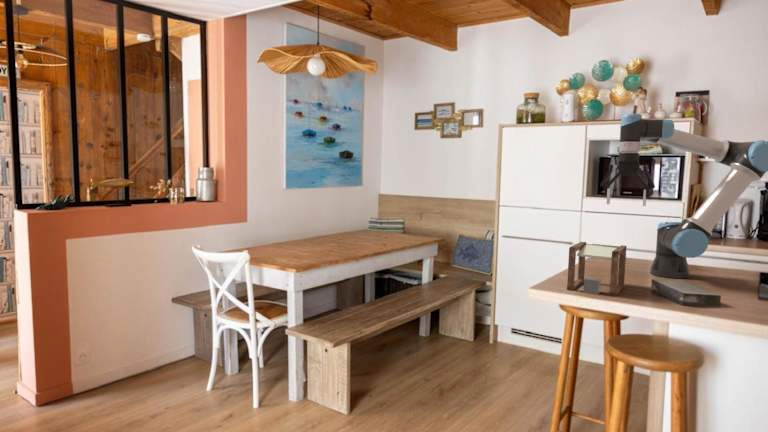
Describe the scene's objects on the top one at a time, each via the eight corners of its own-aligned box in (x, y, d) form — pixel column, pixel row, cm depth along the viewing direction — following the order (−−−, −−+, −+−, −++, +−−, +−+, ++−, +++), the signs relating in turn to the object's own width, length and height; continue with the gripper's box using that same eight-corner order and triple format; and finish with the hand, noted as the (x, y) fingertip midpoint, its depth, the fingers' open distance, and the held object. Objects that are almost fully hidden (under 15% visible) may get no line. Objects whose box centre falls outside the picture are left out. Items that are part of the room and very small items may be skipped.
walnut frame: (623, 286, 204) (626, 245, 202) (615, 296, 188) (618, 252, 186) (578, 280, 213) (580, 241, 211) (567, 289, 197) (569, 247, 195)
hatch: (621, 256, 208) (621, 242, 207) (611, 271, 191) (611, 256, 190) (589, 253, 215) (589, 239, 214) (576, 267, 198) (577, 253, 196)
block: (682, 306, 177) (683, 292, 176) (649, 292, 196) (650, 279, 196) (721, 307, 178) (722, 292, 177) (685, 293, 197) (686, 279, 197)
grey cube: (598, 281, 190) (597, 294, 191) (601, 278, 194) (600, 291, 195) (584, 279, 193) (583, 292, 193) (586, 276, 197) (586, 290, 198)
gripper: (594, 152, 217) (591, 203, 219) (662, 152, 204) (659, 207, 206) (598, 152, 223) (595, 202, 225) (664, 153, 210) (660, 206, 212)
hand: (625, 205), depth 216 cm, fingers open, 13 cm apart
